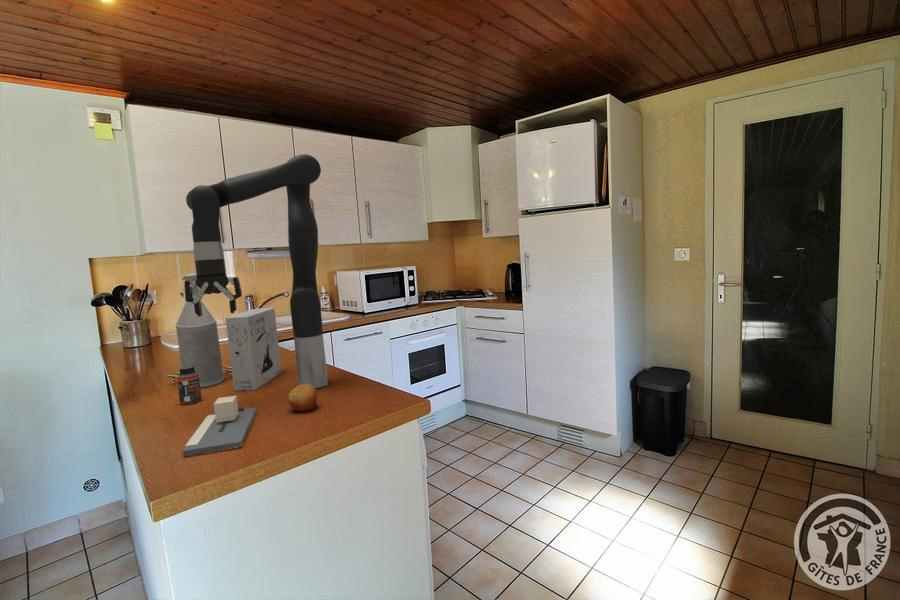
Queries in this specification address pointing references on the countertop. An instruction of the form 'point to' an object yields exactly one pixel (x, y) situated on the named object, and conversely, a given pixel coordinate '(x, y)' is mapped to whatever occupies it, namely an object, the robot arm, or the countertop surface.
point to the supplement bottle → (188, 385)
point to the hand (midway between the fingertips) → (216, 314)
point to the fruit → (303, 398)
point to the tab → (226, 409)
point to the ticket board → (220, 433)
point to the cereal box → (253, 348)
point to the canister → (199, 341)
